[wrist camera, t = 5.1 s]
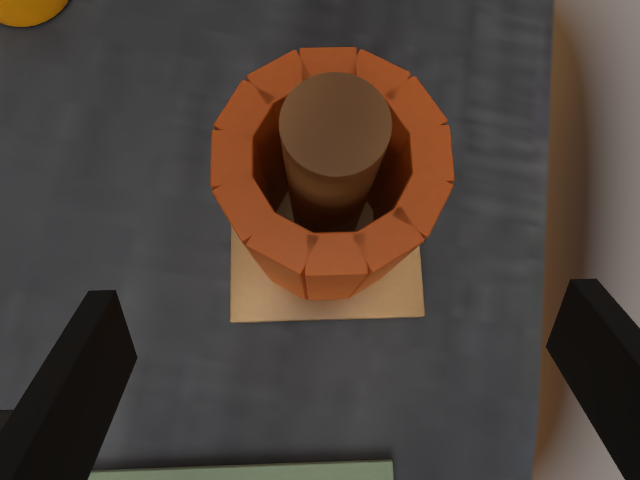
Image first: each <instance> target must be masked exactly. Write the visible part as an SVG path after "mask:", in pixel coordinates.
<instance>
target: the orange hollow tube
mask: <svg viewBox="0 0 640 480" xmlns="http://www.w3.org/2000/svg"><path fill="white" fill-rule="evenodd" d="M326 72H343V73H348V74H352V75H355V76H358V77H360V78H362V79H364V80H366V81H367V82H369V83H370V84H371V85H373V86H374V87H375V88H376V89H377V90H378V91H379V92H380V93H381V95H382V96H383V97H384V99H385V101H386V102H387V105H388V107H389V109H390V113H391V117H392V134H391V138H390V142H389V144H388V147H387V149H386V152H385V155H384V157H383V160H382V162H381V165H380V167H379V170H378V172H377V175H376V178H375V180H374V183H373V185H372V188H371V190H370V193H369V195H368V198H367V202H368V203H369V205H370V206H371V208H372V209H373V219H374V221H373V222H371V223H370V224H368V225H366V226H365V227H363V228H362V229H360V230H358V231H356V232H318V233H313V232H311V231H309V230H308V229H306V228H304V227H302V226H300V225H298V224H296V223H294V222H292V221H291V220H289V219H287V218H285V217H283V216H281V215H279V214H277V213H276V211H277V210H278V208H279V206H280V204H281V203H282V201H283V199H284V197H285V196H286V194H287V192H288V191H289V188H288V182H287V176H286V170H285V164H284V158H283V152H282V146H281V140H280V134H279V115H280V111H281V108H282V105H283V103H284V101H285V99H286V97H287V96H288V95H289V93H290V92H291V91H292V90H293V89H294V88H295V87H296V86H297V85H298V84H299V83H301V82H302V81H304V80H306V79H307V78H310V77H312V76H314V75H317V74H321V73H326ZM246 77H247V81H246V80H242V81H241V83H240V84H239V86H238V87H237V89H236V90H235V92H234V94H233V95H232V97H231V98H230V100H229V101H228V103H227V105H226V106H225V108H224V109H223V111H222V112H221V114H220V116H219V117H218V119H217V120H216V122H215V123H214V128H215V130H212V132H211V173H210V186H211V187H212V189H213V190H212V193H213V195H214V197H215V198H216V200H217V202H218V203H219V205H220V207H221V208H222V210H223V212H224V214H225V215H226V217H227V219H228V220H229V222H230V224H231V225H232V227H233V229H234V230H235V232H236V234H237V235H238V237H239V239H240V240H241V242H242V243H243V245H244V246H245V247H246V248H247V250H248V251H249V252H250V254H251V255H252V256H253V258H254V259H255V260H256V262H257V263H258V264H259V266H260V267H261V268H262V270H263V271H264V272H265V274H266V275H267V276H268V278H269V279H271V281H272V282H274V283H276V284H278V285H279V286H281V287H283V288H285V289H287V290H289V291H290V292H292V293H294V294H296V295H298V296H300V297H302V298H303V299H306V297H307V296H308V300H331V299H347V297H349V298H351V297H352V296H354V295H356V294H357V293H359V292H360V291H362V290H364V289H365V288H367V287H368V286H370V285H371V284H373V283H375V282H376V281H378V280H379V279H381V278H382V277H383V276H385V275H386V274H387V273H388V272H389V271H390V270H392V269H393V268H394V267H395V266H396V265H397V264H398V263H400V262H401V261H402V260H403V259H404V258H405V257H407V256H408V255H409V254H410V253H411V252H412V251H414V250H415V249H416V248H417V247H418V246H419V245H421V244H422V243H423V242H424V241H425V239H426V238H427V237H428V236H429V235H430V233H431V231H432V229H433V227H434V225H435V223H436V221H437V219H438V217H439V215H440V213H441V211H442V209H443V207H444V205H445V203H446V201H447V199H448V197H449V195H450V193H451V191H452V189H453V184H452V183H453V182H454V180H455V177H454V167H453V156H452V146H451V136H450V126H449V125H445V124H446V122H447V119H446V117H445V116H444V115H443V113H442V112H441V110H440V109H439V108H438V106H437V105H436V104H435V102H434V101H433V99H432V98H431V97H430V95H429V94H428V93H427V91H426V90H425V88H424V87H423V86H422V84H421V83H420V82H419V80H418V79H417V77H416V76H413V77H411V78H410V72H408V71H406V70H404V69H402V68H400V67H398V66H396V65H394V64H392V63H390V62H388V61H386V60H384V59H382V58H380V57H377V56H375V55H373V54H371V53H369V52H367V51H365V50H363V49H361V50H360V51H359V52H358V54H357V48H356V47H324V48H300V50H299V54H298V52H297V51H296V50H293V51H291V52H289V53H287V54H286V55H284V56H282V57H280V58H278V59H276V60H274V61H272V62H271V63H269V64H267V65H265V66H263V67H261V68H259V69H258V70H256V71H254V72H252V73H250V74H248V75H247V76H246ZM409 78H410V79H409Z"/></svg>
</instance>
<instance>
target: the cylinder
mask: <svg viewBox="0 0 640 480" xmlns="http://www.w3.org/2000/svg"><path fill="white" fill-rule="evenodd" d="M68 1H69V0H0V23H2V24H5V25H7V26H14V27H29V26H34V25H38V24H40V23H43V22H46V21H47V20H49V19H51V18H53V17H54V16H55V15H57V14H58V13H59V12H60V11H61V10H62V9H63V8H64V7H65V6H66V5H67V3H68Z"/></svg>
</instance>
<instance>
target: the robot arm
mask: <svg viewBox="0 0 640 480" xmlns="http://www.w3.org/2000/svg"><path fill="white" fill-rule="evenodd" d="M546 348H547V350H548V351H549V353H550V355H551V356H552V358H553V360H554V361H555V363H556V365H557V367H558V368H559V370H560V372H561V373H562V375H563V377H564V378H565V380H566V382H567V383H568V385H569V387H570V388H571V390H572V392H573V393H574V395H575V396H576V398H577V400H578V402H579V403H580V405H581V407H582V408H583V410H584V412H585V413H586V415H587V417H588V418H589V420H590V422H591V423H592V425H593V427H594V428H595V430H596V432H597V433H598V435H599V437H600V438H601V440H602V442H603V443H604V445H605V447H606V448H607V450H608V452H609V454H610V455H611V457H612V459H613V460H614V462H615V464H616V465H617V467H618V469H619V470H620V472H621V474H622V475H623V477H624V479H625V480H640V328H639V327H638V326H637V325H636V324H635V322H634V321H633V320H632V319H631V318H630V317H629V316H628V314H627V313H626V312H625V311H624V310H623V309H622V307H621V306H620V305H619V304H618V303H617V302H616V301H615V299H614V298H613V297H612V296H611V295H610V294H609V293H608V291H607V290H606V289H605V288H604V287H603V286H602V285H601V283H600V282H599V281H598V280H597V279H570V282H569V285H568V287H567V290H566V293H565V296H564V298H563V301H562V304H561V307H560V309H559V312H558V315H557V317H556V320H555V323H554V326H553V328H552V331H551V334H550V337H549V339H548V342H547V345H546ZM136 360H137V355H136V352H135V348H134V345H133V342H132V339H131V336H130V333H129V330H128V327H127V324H126V321H125V318H124V314H123V311H122V308H121V305H120V302H119V299H118V296H117V293H116V290H100V291H88V293H87V294H86V296H85V297H84V299H83V301H82V302H81V304H80V305H79V307H78V308H77V310H76V312H75V313H74V315H73V316H72V318H71V320H70V321H69V323H68V324H67V326H66V328H65V329H64V331H63V332H62V334H61V336H60V337H59V339H58V340H57V342H56V344H55V345H54V347H53V348H52V350H51V352H50V353H49V355H48V356H47V358H46V360H45V361H44V363H43V364H42V366H41V368H40V369H39V371H38V372H37V374H36V376H35V377H34V379H33V380H32V382H31V383H30V385H29V387H28V388H27V390H26V391H25V393H24V395H23V396H22V398H21V399H20V401H19V403H18V404H17V406H16V407H15V409H14V410H0V480H88V478H89V475H90V473H91V471H92V468H93V466H94V463H95V461H96V458H97V456H98V453H99V451H100V448H101V446H102V444H103V441H104V439H105V436H106V434H107V431H108V429H109V426H110V424H111V421H112V419H113V416H114V414H115V412H116V409H117V407H118V404H119V402H120V399H121V397H122V394H123V392H124V389H125V387H126V385H127V382H128V380H129V377H130V375H131V372H132V370H133V367H134V365H135V362H136Z"/></svg>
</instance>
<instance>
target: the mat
mask: <svg viewBox="0 0 640 480" xmlns="http://www.w3.org/2000/svg"><path fill="white" fill-rule="evenodd" d="M88 480H394V477H393V462H392V460H391V459H382V460H355V461H328V462H301V463H274V464H247V465H220V466H193V467H166V468H139V469H112V470H92V471H91V473H90V475H89V478H88Z"/></svg>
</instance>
